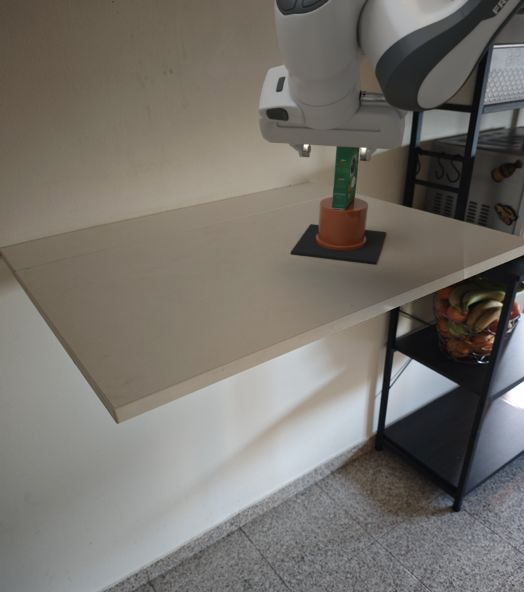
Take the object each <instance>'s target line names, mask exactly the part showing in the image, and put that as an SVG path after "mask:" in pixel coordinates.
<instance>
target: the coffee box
mask: <svg viewBox="0 0 524 592" xmlns="http://www.w3.org/2000/svg"><path fill="white" fill-rule="evenodd" d="M335 147H336V148H335V160H334V161H335V162H334V163H335V164H334V176H333V188H332V197H333V200H332V208H333V209H340V210H344V209H346V208H347V207H348V205H349V204H350V203H351V202H352V201H353V199H354V198H356V190H357V183H358V182H357V181H358V171H359V161H360V150H361V148H357V147H340V146H335Z"/></svg>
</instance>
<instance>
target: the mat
mask: <svg viewBox="0 0 524 592" xmlns="http://www.w3.org/2000/svg"><path fill="white" fill-rule="evenodd" d="M318 228H319V224H315V223H310V224H309V226H308V227H307V229H306V230H305V231H304V233H303V234H302V235H301V237H300V238H299V240H298V241H297V242H296V244H295V245H294V246H293V247H292V249H291V251H290V255H294V256H303V257H311V258H318V259H319V258H320V259H329V260H336V261H344V262H353V263H361V264H370V265H377V263H378V260H379V258H380V254H381V251H382V248H383V245H384V242H385V239H386V235H387V231H381V230H371V229H365V237H366V244H365V245H364V246H363V247H362V248H359V249H356V250H350V251H338V250H331V249H327V248H324V247H321V246H320V245H318V244H317V243H316V235H317V234H318Z"/></svg>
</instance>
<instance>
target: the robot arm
mask: <svg viewBox="0 0 524 592" xmlns="http://www.w3.org/2000/svg"><path fill="white" fill-rule="evenodd" d="M273 4H274V5H273V6H274V7H273V9H274V10H273V11H274V12H273V14H274V23H275V30H276V37H277V38H276V39H277V43H278V48H279V52H280V57H281V61H282V64H281V65H278V66H275V67H271V68H270V69H268V70H267V72H266V75H265V78H264V81H263V84H262V88H261V92H260V96H259V101H258V110H257V111H258V114H259V118H258V123H259V124H258V125H259V130H260V133H261V137H262V138H263V139H264V140H265V141H267V142H268V143H271V144H272V143H273V144H288V145H289V146H290V147H292V149H294V150H295V151H296V152H297V153H298V155H299V157H300V158H310V156H311V154H310V153H311V151H312V146H323V147H337V146H340V147H357V148H360V150H359V161H360V162H370V161H371V157H372V155H373V154H374V153H376V151H377V150H391V151H393V150H396V149H398V148H400V147H401V146H402V144H403V140H404V136H405V130H406V129H405V128H406V116H407V115H408V112H427V111H428V112H429V111H432V110H436V109H439V108H440V107H441V106H443V105H445V104H447V103H448V102H449V101H450V100H452V99H453V98H454V97H455V96H456V95H458V94H459V92H460V91H461V90H462V88H463V87H464V86H465V85H466V84H467V82H468V81H469V79H470V78H471V77H472V75H473V73H474V72H475V70H476V68H477V67H478V65H479V64H480V63H481V61H482V59H483V57H485V55H486V53H487V51H488V50H489V49H490V48H491V46H492V44H493V43H494V42H495V40H496V39H497V38H498V36H500V35H501V33H502V32H503V31H504V29H505V28H506V27H507V26H508V24H509V23H510V22H511V21H512V20H513V18H515V16H516V15H517V14H518V12H519V11H520V10H521V9H522V8H523V6H524V0H274V3H273ZM365 59H367V61H368V63H369V65H370V66H371V68H372V70H373V71H374V75H375V78H376V81H377V82H378V85H379V88H380V90H381V91H373V90H362V89H361V88H362V84H361V64H362V63H363V61H364V60H365Z"/></svg>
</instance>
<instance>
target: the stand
mask: <svg viewBox="0 0 524 592" xmlns="http://www.w3.org/2000/svg"><path fill="white" fill-rule="evenodd" d="M332 200H333V196H331V197H325V198H323V199H321V200H320V203H319V213H318V225H319V228H318V234H317V235H316V243H317V244H318V245H320V246H321V247H324V248H327V249H331V250H338V251H350V250H356V249H359V248H362V247H363V246H364V245H365V244H366V237H365V230H366V228H367V219H368V212H369V211H368V209H369V204H368V201H366V200H364V199H361V198H358V197H355V198H354V199H353V201H352V202H351V203H350V204H349V205H348V207H347V208H346V209H344V210H340V209H333V208H332Z"/></svg>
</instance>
